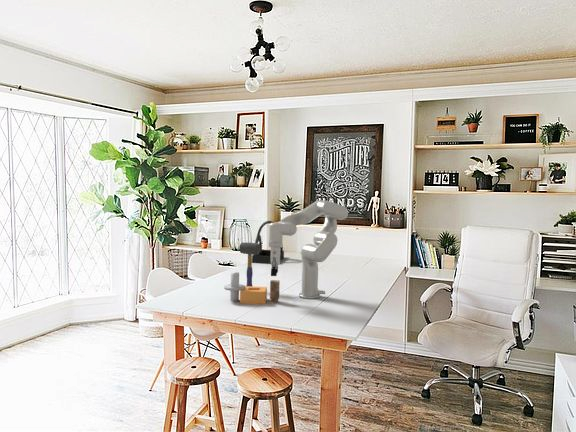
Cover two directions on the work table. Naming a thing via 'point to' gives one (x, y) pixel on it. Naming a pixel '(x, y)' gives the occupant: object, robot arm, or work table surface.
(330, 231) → the robot arm
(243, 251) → the rubber mallet
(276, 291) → the tan wooden block
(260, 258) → the basket
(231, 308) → the work table surface
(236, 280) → the orange block with cylinder
